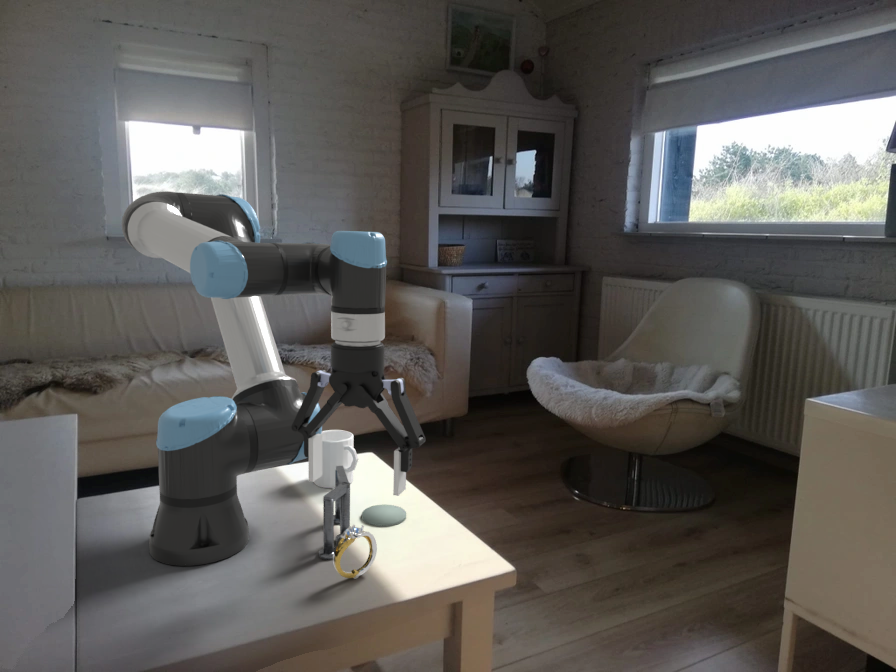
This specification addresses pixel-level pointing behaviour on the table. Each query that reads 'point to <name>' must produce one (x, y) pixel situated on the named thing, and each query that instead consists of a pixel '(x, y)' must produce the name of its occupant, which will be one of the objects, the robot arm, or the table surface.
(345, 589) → the table surface
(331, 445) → the mug
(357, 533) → the ring
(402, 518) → the felt coaster
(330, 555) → the bent grey rail
